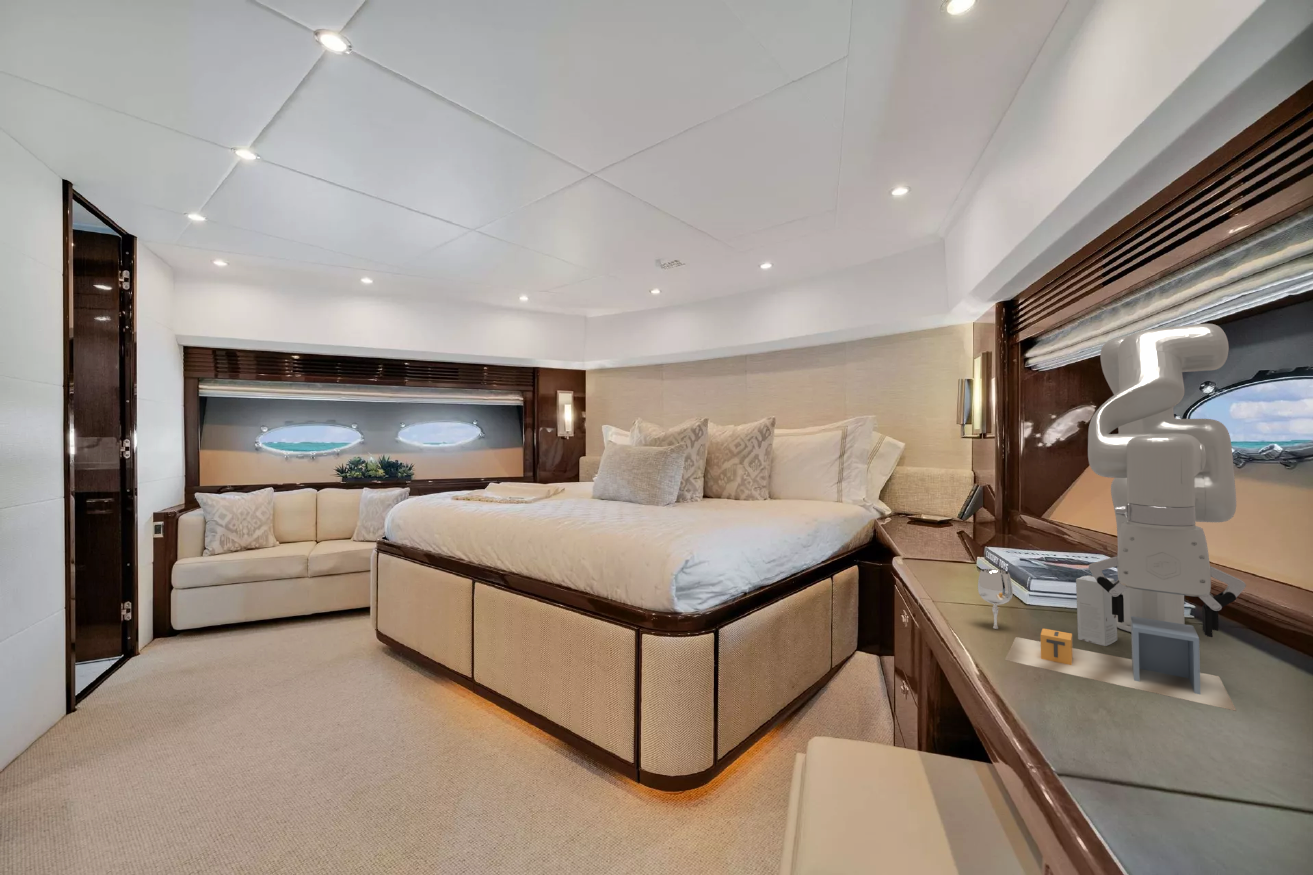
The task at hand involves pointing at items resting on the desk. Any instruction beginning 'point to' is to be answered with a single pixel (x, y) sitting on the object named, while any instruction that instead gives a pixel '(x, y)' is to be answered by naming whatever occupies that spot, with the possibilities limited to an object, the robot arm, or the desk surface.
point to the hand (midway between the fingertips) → (1162, 626)
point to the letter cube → (1056, 646)
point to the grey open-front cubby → (1165, 649)
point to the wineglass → (995, 588)
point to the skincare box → (1095, 612)
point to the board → (1123, 674)
